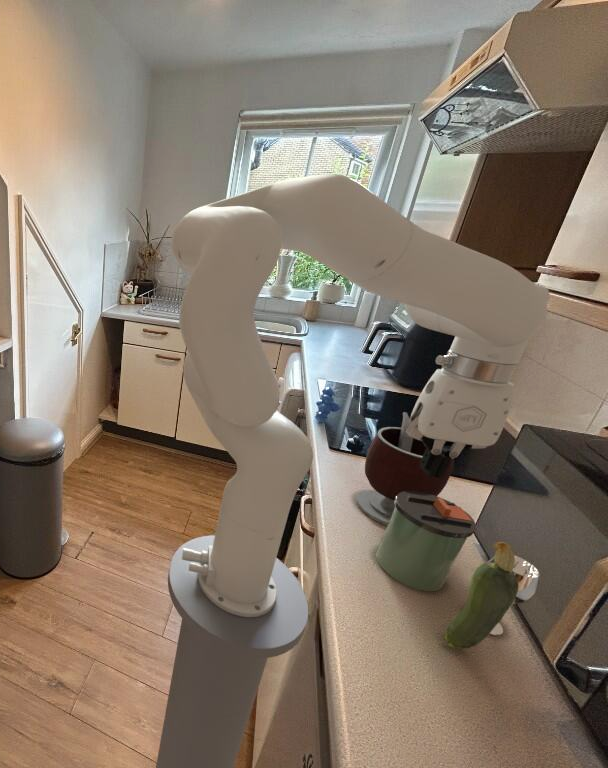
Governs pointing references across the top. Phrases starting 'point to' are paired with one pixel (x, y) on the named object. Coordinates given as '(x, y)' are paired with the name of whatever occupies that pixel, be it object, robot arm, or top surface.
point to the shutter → (451, 510)
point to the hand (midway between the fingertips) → (430, 472)
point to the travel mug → (421, 541)
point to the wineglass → (521, 585)
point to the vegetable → (485, 600)
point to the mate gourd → (396, 471)
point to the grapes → (326, 405)
